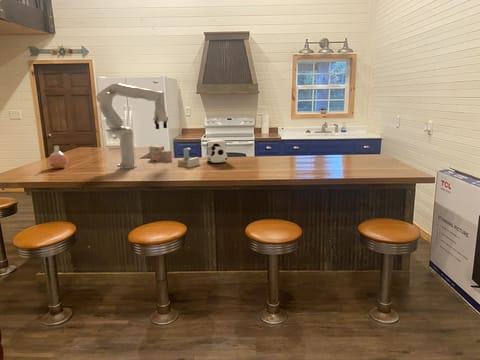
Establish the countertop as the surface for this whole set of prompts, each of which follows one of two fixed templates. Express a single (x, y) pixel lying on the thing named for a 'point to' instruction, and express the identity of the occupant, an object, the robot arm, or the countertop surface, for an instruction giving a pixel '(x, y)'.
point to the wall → (193, 162)
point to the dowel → (186, 154)
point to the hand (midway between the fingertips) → (161, 128)
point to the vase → (57, 159)
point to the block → (183, 162)
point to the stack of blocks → (160, 153)
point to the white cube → (216, 151)
